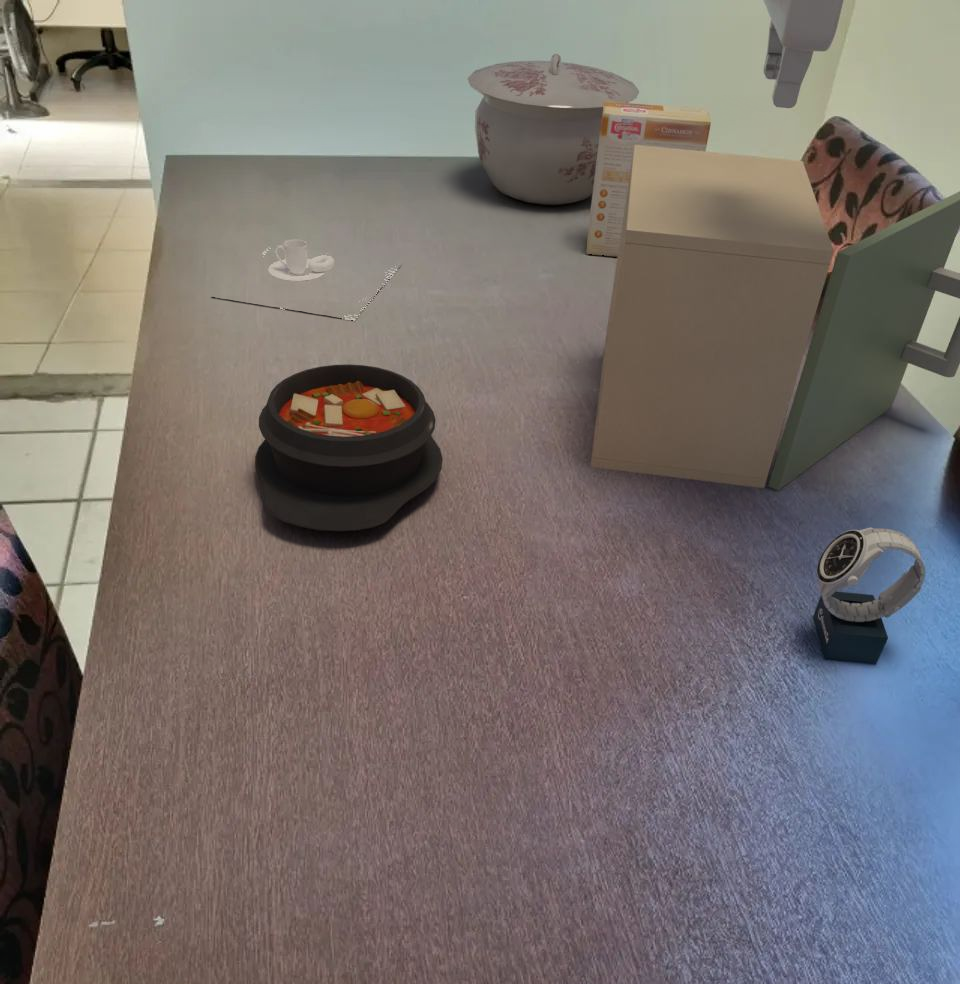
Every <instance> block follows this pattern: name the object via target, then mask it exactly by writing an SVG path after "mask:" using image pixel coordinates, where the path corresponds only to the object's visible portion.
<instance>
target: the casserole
mask: <svg viewBox="0 0 960 984" xmlns="http://www.w3.org/2000/svg"><path fill="white" fill-rule="evenodd" d="M436 421H437V419H436V417H435V412H434V411H433V409H432V407H431V405H430V404H429V403H428V402H427V401H426V398H425V395H424V393H423V391H422V390H421V388H420V386H418V385H417V384H415V383H414V381H412V380H411V379H409V378H407V377H406V376H404V375H402V374H400V373H398V372H395V371H392V370H389V369H386V368H381V367H377V366H372V365H364V364H352V363H351V364H331V365H330V364H329V365H323V366H322V365H321V366H318V367H312V368H308V369H305V370H302V371H299V372H296V373H294V374H292V375H290V376H287V377H286V378H284V379H283V380H282V381H280V382H279V383H277V384H276V385H275V387H274V388H272V390H271V391H270V393H269V395H268V398H267V402H266V404H265V406H264V407H263V408H262V409H261V411H260V414H259V417H258V428H259V431H260V433H261V436H262V438H263V439H264V440H263V441H262V442H261V444H260V445H259V446H258V448H257V450H256V453H255V456H254V468H255V471H256V473H257V476H258V479H259V480H260V483H261V486H262V499H263V508H264V509H265V510H266V512H267V513H268V514H269V515H270V516H271V517H273V518H275V519H277V520H280V522H284V523H286V524H290V525H292V526H295V527H299V528H303V529H304V528H305V529H311V530H316V531H328V532H349V531H350V532H352V531H361V530H367V529H372V528H376V527H378V526H380V525H382V524H385V523H387V522H388V521H389V520H390V519H391V518H392V517H393V516H394V515H395V514H396V513H397V512H398V511H399V510H400V509H401V508H402V507H403V506H404V505H405V504H406V503H408V502H409V501H411V500H412V499H414V498H415V497H416V496H419V494H421V493H423V492H424V491H426V490H427V489H428V488H430V486H431V485H433V484H434V482H435V481H436V480H437V479H438V477H439V475H440V473H441V470H442V469H443V459H444V458H443V454H442V451H441V448H440V447H439V445H438V443H437V442H436V440H435V439H434V437H433V436H432V434H433V432H434V431H435V429H436Z"/></svg>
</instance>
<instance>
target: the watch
mask: <svg viewBox="0 0 960 984" xmlns="http://www.w3.org/2000/svg"><path fill="white" fill-rule="evenodd" d="M883 550H895V551H901V552H903V553H905V554H907V555H910V556H911V557H912V558H913V559H914V562H913V565H911V566H910V568H909V570H907V571H904V573H903V574H902V575H901V576H900V577H899V578H898V579H897V580H896V581H895V582H894V583H893V584H891V585H890V586H889V587H888V588H887V589H885V590H883V591H882V592H881V593H879V594H878V598H875V595H874V594H867V593H855V592H847V591H839V590H844V589H847V588H849V587H855V586H857V585H858V584H859V580H861V578H862V577H864V575H865V574H866V573H867V570H869V568H870V566H871V564H872V563H873V562H874V561H875V560H876V559H878V558H880V556H882V555H883V554H884V551H883ZM816 578H817V584H818V588H819V591H820V596H819V600H818V602H817V605H816V607H815V610H814V613H813V615H812V619H813V623H814V627H815V630H816V635H817V638H818V642H819V646H820V650H821V655H822V657H823V660H824V661H831V662H832V661H833V662H843V663H844V662H845V663H855V664H865V665H877V663H878V661H879V659H880V657H881V655H882V652H883V650H884V648H885V646H886V644H887V642H888V640H889V636H888V634H887V633H888V632H887V630H886V626H885V625H884V621H883V618H884V617H885V618H889V617H891V616H892V615H894V614H895V613H897V612H898V611H900V610H901V609H902V608H903V607H905V606H906V605H908V603H910V602H911V601H912V600H913V599H914V598H915V597H916V596H917V595H918V593H920V591H921V590H922V588H923V587H922V585H923V584H924V581H925V578H926V566H925V563H924V561H923V558H922V556H921V553H920V551H919V549H918V547H917V545H916V544H915V542H914V541H913V540H912V539H911V538H910V537H909V536H908V535H906V534H904V533H902V532H901V531H898V530H894V529H890V528H877V527H876V528H873V527H867V528H862V529H860V530H859V529H849V530H846V531H844V532H841V533H840V534H839V535H838V536H836V537H835V538H833V539H831V541H830V542H829V543H828V544H827V546H826V547H825V549H824V550H823V551H822V553H821V555H820V557H819V560H818V562H817V565H816Z"/></svg>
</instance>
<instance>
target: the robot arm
mask: <svg viewBox="0 0 960 984" xmlns="http://www.w3.org/2000/svg"><path fill="white" fill-rule="evenodd" d="M763 3H764V5H765V7H766V10H767V12H768V15H769V17H770V23H769V28H768V39H767V40H768V41H767V48H766V55H765V60H764V65H763V74H764V76H765V79H768V80H774V81H775V82H774V86H773V92H772V94H771V95H772V98H771V99H772V103H773V105H774V106H775V107H776V108H783V109H792V108H794V107H795V106H796V105H797V103H798V98H799V96H800V95H799V94H800V91H801V87H802V84H803V82H804V79H805V76H806V74H807V71H808V69H809V67H810V64H811V62H812V58H813V55H814V52H827V51H828V50H829V49H830V47H831V45H832V43H833V41H834V39H835V36H836V34H837V29H838V24H839V21H840V17H841V14H842V13H841V12H842V9H843V4H844V0H763Z"/></svg>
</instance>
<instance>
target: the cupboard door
mask: <svg viewBox="0 0 960 984" xmlns="http://www.w3.org/2000/svg"><path fill="white" fill-rule="evenodd" d="M959 229H960V191H958V192H956V193H953V194H951V195H950V196H947V197H945V198H943V199H941V200H939V201H937V202H935V203H933V204H932V205H929V206H927V207H925V208H923V209H921V210H919V211H917V212H915V213H913V214H911V215H909V216H907V217H905V218H903V219H901V220H899V221H897V222H895V223H893V224H891V225H889V226H887V227H885V228H883V229H881V230H879V231H877V232H874V233H873V234H871V235H868V236H867V237H865V238H863V239H861V240H859V241H857V242H855V243H853V244H850V245H848V246H846V247H845V248H843V249H841V250H839V251H837V253H836V256H835V260H834V263H833V265H832V266H833V267H832V270H831V273H830V276H829V280H828V284H827V287H826V290H825V294H824V297H823V299H822V303H821V306H820V310H819V314H818V318H817V320H816V322H815V323H816V324H815V326H814V330H813V334H812V337H811V340H810V344H809V347H808V351H807V354H806V357H805V360H804V365H803V368H802V371H801V374H800V378H799V380H798V384H797V387H796V391H795V394H794V397H793V401H792V404H791V407H790V411H789V415H788V418H787V421H786V424H785V429H784V431H783V433H782V437H781V441H780V445H779V447H778V451H777V454H776V459H775V462H774V465H773V469H772V472H771V475H770V478H769V481H768V485H767V487H768V488H771V489H773V490H775V491H777V492H778V491H781V490H782V489H783V488H784V487H786V486H787V485H789V483H790V482H792V481H794V480H795V479H796V478H797V477H800V475H802V474H803V473H804V472H806V471H807V470H808V469H810V468H811V467H813V466H814V465H816V464H817V463H818V462H819V461H820V460H822V459H824V458H825V457H826V456H828V455H829V454H830V453H832V452H833V451H834V450H836V449H837V448H838V447H840V446H841V445H842V444H844V443H845V442H846V441H848V440H849V439H851V438H852V437H854V436H855V435H856V434H857V433H859V432H860V431H862V430H863V429H864V428H865V427H867V426H868V425H870V424H871V423H872V422H873V421H875V420H876V419H878V418H879V417H880V416H882V415H883V414H885V413H886V412H887V411H889V410H890V409H892V407H893V405H894V402H895V400H896V397H897V395H898V392H899V389H900V386H901V384H902V382H903V378H904V375H905V373H906V371H907V368H908V365H909V364H910V365H912V366H915V367H917V368H921V369H923V370H925V371H928V372H931V373H933V374H937V375H939V376H942V377H944V378H954V377H955V376H956V374H957V371H958V369H959V366H960V316H959V317H958V319H957V322H956V325H955V326H954V328H953V329H954V330H953V332H952V335H951V337H950V340H949V342H948V345H947V347H946V350H945V351H943V350H939V349H937V348H934V347H931V346H929V345H925V344H923V343H920V342H917V341H918V339H919V336H920V333H921V330H922V328H923V326H924V322H925V320H926V317H927V315H928V312H929V309H930V306H931V303H932V301H933V298H934V296H935V294H936V292H939V293H941V294H944V295H947V296H950V297H954V298H956V299H960V272H957V271H954V270H951V269H947V268H945V266H946V263H947V261H948V258H949V256H950V253H951V250H952V248H953V245H954V243H955V239H956V237H957V234H958V231H959Z"/></svg>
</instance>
